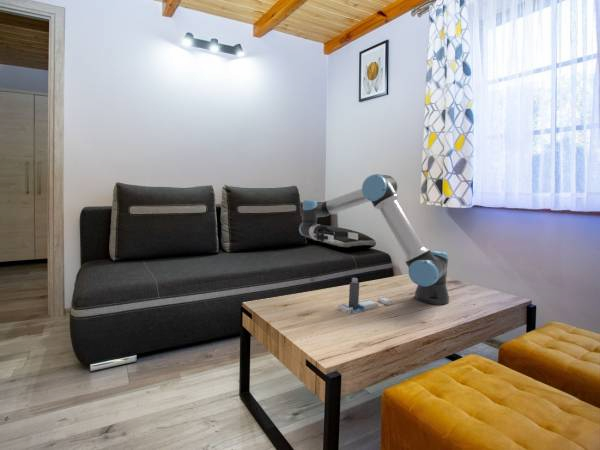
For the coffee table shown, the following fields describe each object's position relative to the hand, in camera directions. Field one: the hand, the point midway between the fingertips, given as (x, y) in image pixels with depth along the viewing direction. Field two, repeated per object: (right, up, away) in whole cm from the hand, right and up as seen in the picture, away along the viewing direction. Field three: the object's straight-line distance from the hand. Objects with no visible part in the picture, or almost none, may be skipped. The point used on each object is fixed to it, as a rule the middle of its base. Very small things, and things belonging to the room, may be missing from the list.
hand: (345, 237), depth 156 cm
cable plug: (+2, -30, -7) cm, 31 cm away
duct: (+8, -30, -4) cm, 31 cm away
